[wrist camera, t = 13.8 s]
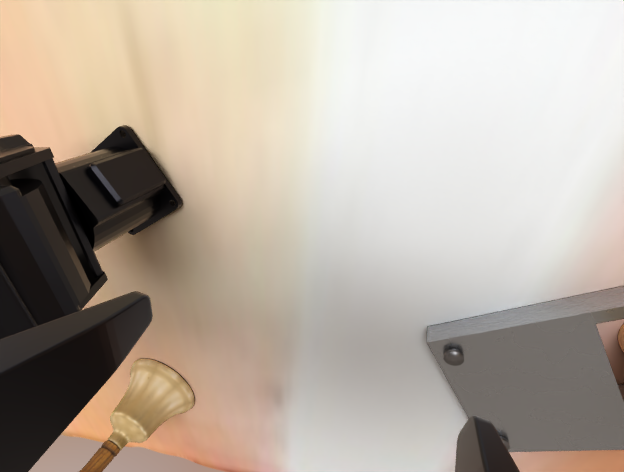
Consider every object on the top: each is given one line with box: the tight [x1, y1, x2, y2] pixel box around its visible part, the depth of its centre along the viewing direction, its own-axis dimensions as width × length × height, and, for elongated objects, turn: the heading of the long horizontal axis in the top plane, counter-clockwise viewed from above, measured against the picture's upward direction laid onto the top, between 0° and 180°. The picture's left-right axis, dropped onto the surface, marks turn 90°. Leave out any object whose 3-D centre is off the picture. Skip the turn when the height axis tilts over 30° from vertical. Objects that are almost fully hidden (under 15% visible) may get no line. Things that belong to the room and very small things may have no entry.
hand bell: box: [79, 359, 195, 472], centre depth 32 cm, size 8×8×16 cm
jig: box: [427, 286, 624, 452], centre depth 19 cm, size 18×11×2 cm, turn 121°
